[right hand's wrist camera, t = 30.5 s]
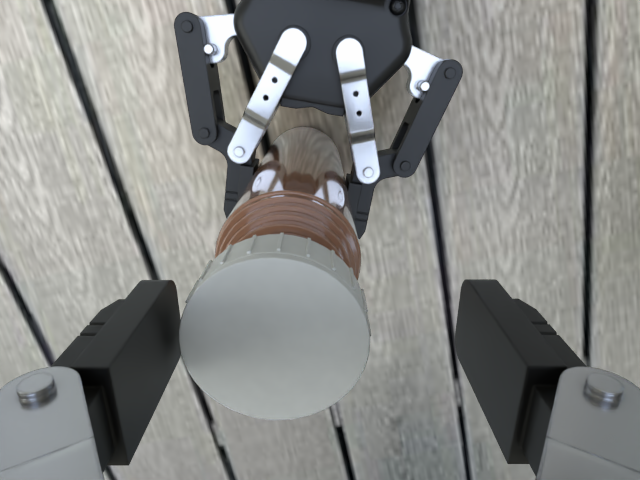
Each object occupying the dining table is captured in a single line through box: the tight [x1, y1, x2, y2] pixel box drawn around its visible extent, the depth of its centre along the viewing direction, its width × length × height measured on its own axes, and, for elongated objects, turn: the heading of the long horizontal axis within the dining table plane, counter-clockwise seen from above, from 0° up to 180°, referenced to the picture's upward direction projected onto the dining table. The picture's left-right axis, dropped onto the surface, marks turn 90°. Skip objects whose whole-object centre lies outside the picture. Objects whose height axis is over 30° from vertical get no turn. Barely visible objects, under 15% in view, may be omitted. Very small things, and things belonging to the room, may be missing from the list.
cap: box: [179, 233, 371, 420], centre depth 12 cm, size 5×5×2 cm
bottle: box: [215, 127, 361, 280], centre depth 21 cm, size 5×5×20 cm
